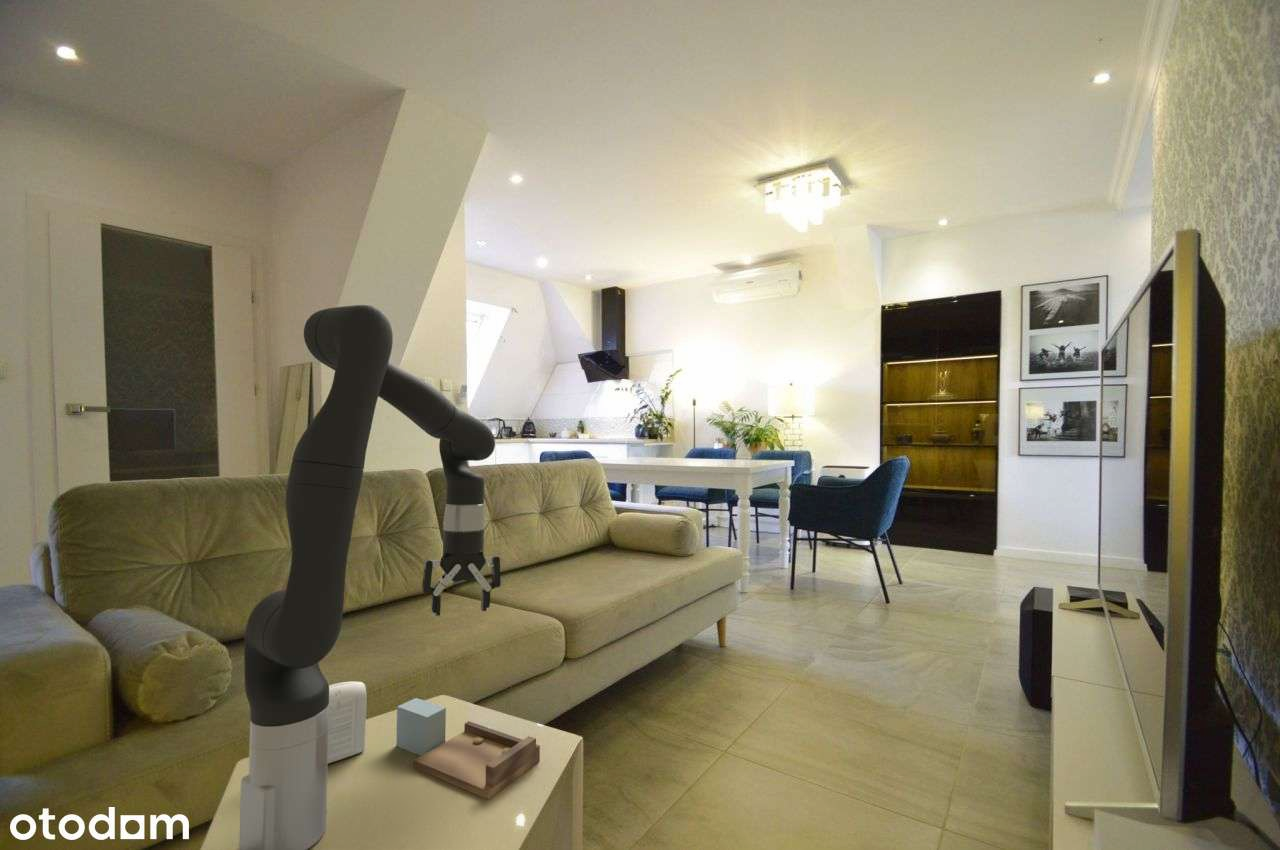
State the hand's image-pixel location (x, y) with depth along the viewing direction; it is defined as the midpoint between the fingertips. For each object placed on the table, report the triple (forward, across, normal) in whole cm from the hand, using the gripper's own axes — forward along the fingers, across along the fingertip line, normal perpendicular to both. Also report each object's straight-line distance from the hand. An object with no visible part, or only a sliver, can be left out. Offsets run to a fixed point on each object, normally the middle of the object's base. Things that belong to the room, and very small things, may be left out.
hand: (461, 612), depth 107 cm
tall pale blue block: (+22, -7, -3) cm, 23 cm away
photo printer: (+23, -20, 0) cm, 31 cm away
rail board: (+22, +1, -13) cm, 26 cm away
